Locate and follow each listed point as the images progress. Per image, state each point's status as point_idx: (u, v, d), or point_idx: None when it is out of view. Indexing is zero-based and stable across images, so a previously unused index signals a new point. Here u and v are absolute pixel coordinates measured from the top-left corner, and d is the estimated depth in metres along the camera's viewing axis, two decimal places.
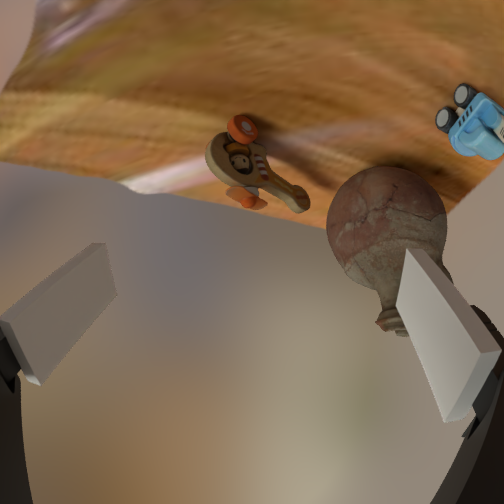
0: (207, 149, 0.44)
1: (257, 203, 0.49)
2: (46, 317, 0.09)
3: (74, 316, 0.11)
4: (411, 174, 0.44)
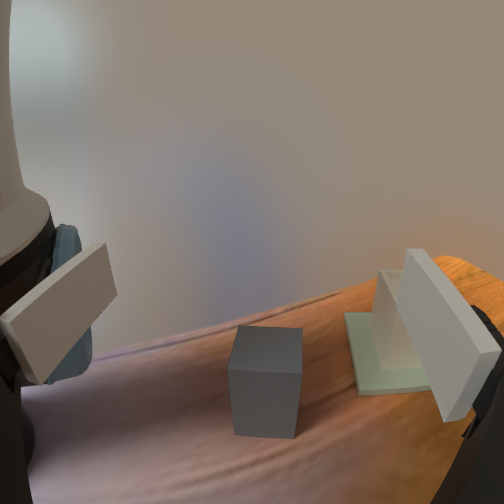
0: None
1: None
2: (46, 317, 0.09)
3: (75, 316, 0.11)
4: None
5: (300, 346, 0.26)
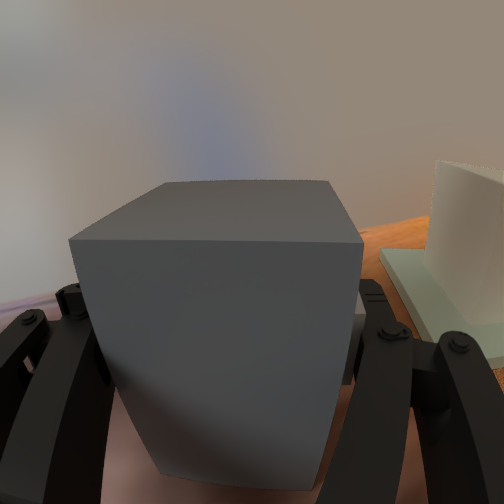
0: None
1: None
2: None
3: None
4: None
5: (332, 198, 0.08)
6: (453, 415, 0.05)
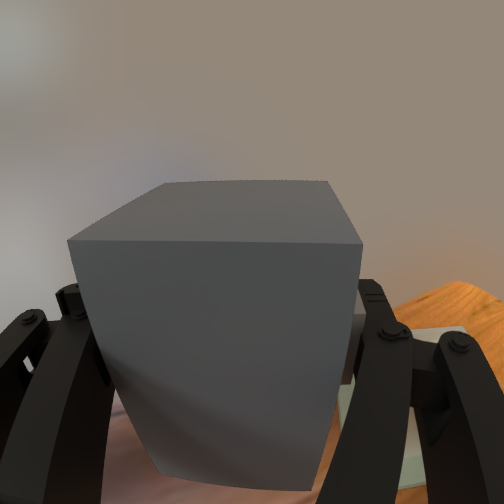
0: None
1: None
2: None
3: None
4: None
5: (331, 198, 0.08)
6: (453, 415, 0.05)
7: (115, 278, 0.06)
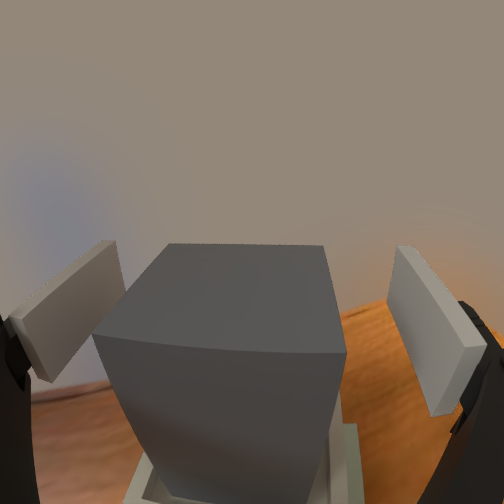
0: None
1: None
2: (57, 314, 0.09)
3: (85, 314, 0.11)
4: None
5: (325, 279, 0.09)
6: None
7: (138, 366, 0.07)
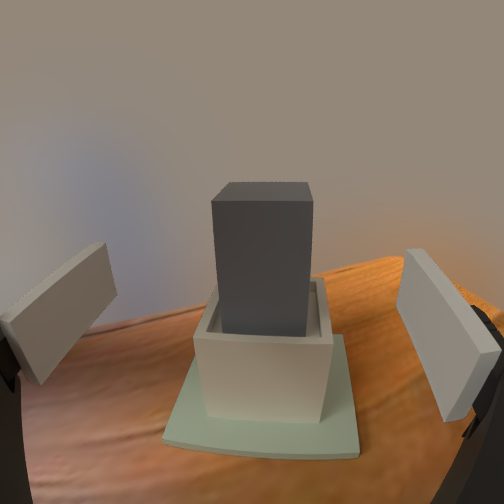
0: None
1: None
2: (46, 317, 0.09)
3: (74, 316, 0.11)
4: None
5: (307, 189, 0.21)
6: None
7: (230, 214, 0.19)
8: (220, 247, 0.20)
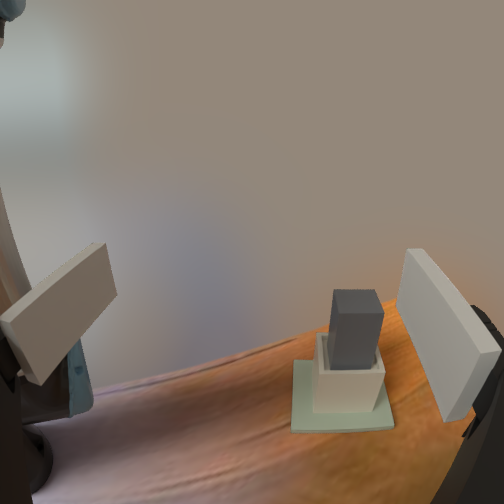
0: None
1: None
2: (46, 317, 0.09)
3: (75, 316, 0.11)
4: None
5: (377, 299, 0.40)
6: None
7: (346, 319, 0.38)
8: (339, 332, 0.39)
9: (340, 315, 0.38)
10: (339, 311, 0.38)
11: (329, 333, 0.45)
